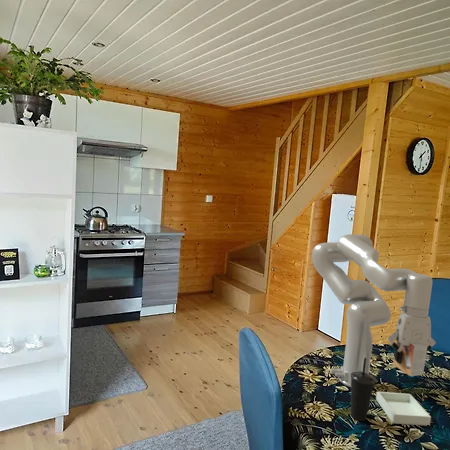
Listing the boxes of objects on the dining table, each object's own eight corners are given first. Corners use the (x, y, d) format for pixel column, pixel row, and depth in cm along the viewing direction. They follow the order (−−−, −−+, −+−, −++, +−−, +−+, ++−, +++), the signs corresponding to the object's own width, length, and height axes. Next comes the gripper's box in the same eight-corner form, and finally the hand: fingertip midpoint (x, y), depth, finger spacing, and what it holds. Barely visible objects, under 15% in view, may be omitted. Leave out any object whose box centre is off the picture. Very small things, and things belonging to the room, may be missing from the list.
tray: (393, 423, 128) (394, 414, 128) (376, 399, 142) (377, 391, 142) (429, 425, 128) (431, 416, 128) (409, 401, 142) (410, 393, 142)
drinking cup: (351, 407, 136) (358, 351, 134) (373, 416, 131) (381, 358, 129) (342, 416, 130) (349, 357, 128) (365, 426, 125) (373, 366, 123)
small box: (392, 365, 137) (396, 335, 136) (405, 364, 138) (409, 335, 137) (410, 376, 129) (414, 345, 128) (423, 375, 131) (428, 344, 130)
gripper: (395, 313, 128) (388, 366, 129) (447, 316, 128) (440, 369, 130) (385, 305, 135) (378, 356, 137) (434, 309, 136) (427, 359, 138)
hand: (408, 362), depth 134 cm, fingers closed on small box, 6 cm apart
